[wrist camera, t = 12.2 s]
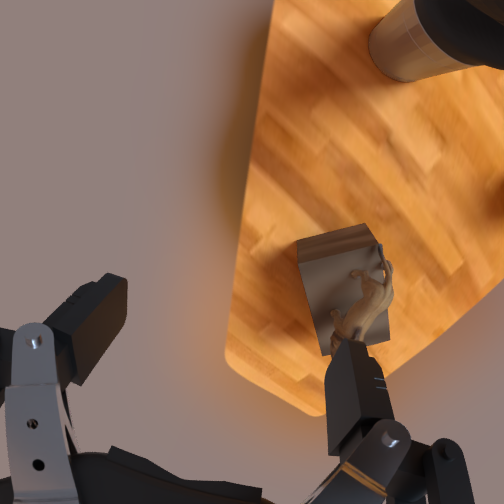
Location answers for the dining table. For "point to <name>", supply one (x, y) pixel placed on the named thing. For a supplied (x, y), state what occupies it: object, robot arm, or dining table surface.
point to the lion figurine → (363, 306)
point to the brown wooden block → (340, 279)
